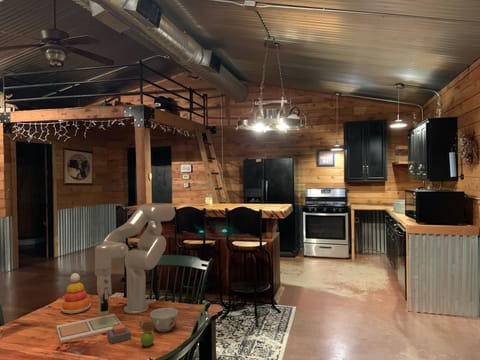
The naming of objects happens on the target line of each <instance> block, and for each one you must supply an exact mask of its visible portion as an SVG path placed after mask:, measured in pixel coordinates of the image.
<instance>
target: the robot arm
mask: <svg viewBox="0 0 480 360" xmlns="http://www.w3.org/2000/svg"><path fill="white" fill-rule="evenodd" d="M175 215H176V211H175V208H174V207H173V206H172V205H167V204H166V205H165V204H164V205H163V204H156V205H148V204H143V205H139V206H138V207H137V208H136V209H135V211H134V212H133V213H132V215H131V216H130V217H129V218H128V220H127V221H126V222H125V223H124V224H122V225H121V226H119V227H117V228H115V229H114V230H113V231H111V232H109V233H108V235H107V236H106V237H105V238H104V239H103V241H102V242H101V244H98V245H96V246H95V248H94V275H95V276H96V278H97V279H96V290H97V295H98V294H99V295H100V296H101V300H102V303H101V312H104V311H108V294H109V297H111V296H112V295H113V293H112V278H111V277H112V276H111V275H112V274H113V259H122V258H124V265H125V271H126V306H125V307H124V308H123V311H124V313H126V314H141V313H144V312H146V311H148V310H149V305H151V304H155V303H156V301H155V299H151V298H149V299H147V296H146V295H147V294H146V289H147V288H146V279H147V278H146V271H145V270H147V271H150V270H152V269H154V268H155V267H156V265H157V264H158V262H159V261H160V259H161V257H162V256H163V254H164V252H165V251H166V247H167V240H166V238H165V236H163V235H162V231H163V226H162V224H161V222H170V221H172V220H173V219H174V218H175ZM147 223H148V224H147ZM146 224H147V227H146V228H145V229H144V232H143V233H142V234H141V236H140V238H139V239H138V241H137V245H136V246H137V248H138V249H131V250H129V246H128V245H127V244H126V243H125V242H122V241H123V240H125V239H127V238H130V237H134V236H136V235H138V234H140V233H141V231H142V229H143V228H144V227H145V225H146ZM103 295H104V296H103ZM103 298H104V299H103Z"/></svg>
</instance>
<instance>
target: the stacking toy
mask: <svg viewBox="0 0 480 360" xmlns="http://www.w3.org/2000/svg"><path fill="white" fill-rule="evenodd" d="M69 279H70V282H71V283H70V284H69V285H67V287H66V292H65V295H64V301H63V303H62V305H61V306H62V307H61V308H60V310H61V311H62V313H65V314H70V315H73V314H77V313H81V312H85V311H86V310H88V309H89V308H90V307H91V305H92V304H91V302H90V300H89V298H88V297H87V296H88V294H87V292H86V290H85V286H84V285H83V283H82V282H80V280H81V276H80V275H79V274H78V273H76V272H75V273H72V274H71V275H70V278H69Z"/></svg>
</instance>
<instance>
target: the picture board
mask: <svg viewBox="0 0 480 360" xmlns="http://www.w3.org/2000/svg"><path fill="white" fill-rule="evenodd" d="M120 324H122V323H121V321H120V320H119V318H118V317H117V316H116V314H115V313H111V314H104V315H100V316H96V317H91V318H87V319H82V320H77V321H72V322H67V323H63V324H58V325H56V331H57V335H58V340H59V342H60V344H62V343H67V342H71V341H74V340H81V339H84V338H87V337H88V338H89V337H92V336H97V335H101V334H105V333H107V330H110V329H113V326H115V325H120Z"/></svg>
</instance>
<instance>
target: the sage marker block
mask: <svg viewBox="0 0 480 360" xmlns="http://www.w3.org/2000/svg"><path fill="white" fill-rule="evenodd" d="M103 296H104V295H103ZM103 299H104V298H103ZM109 299H110V295H109V294H108V311H104V312H101V303H102V300H101V296H100V295H99V294H98V293H97V313H98V315H100V316H104V315H109V313H110V311H109V310H110V308H109V307H110V305H109V303H110V300H109Z"/></svg>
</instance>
